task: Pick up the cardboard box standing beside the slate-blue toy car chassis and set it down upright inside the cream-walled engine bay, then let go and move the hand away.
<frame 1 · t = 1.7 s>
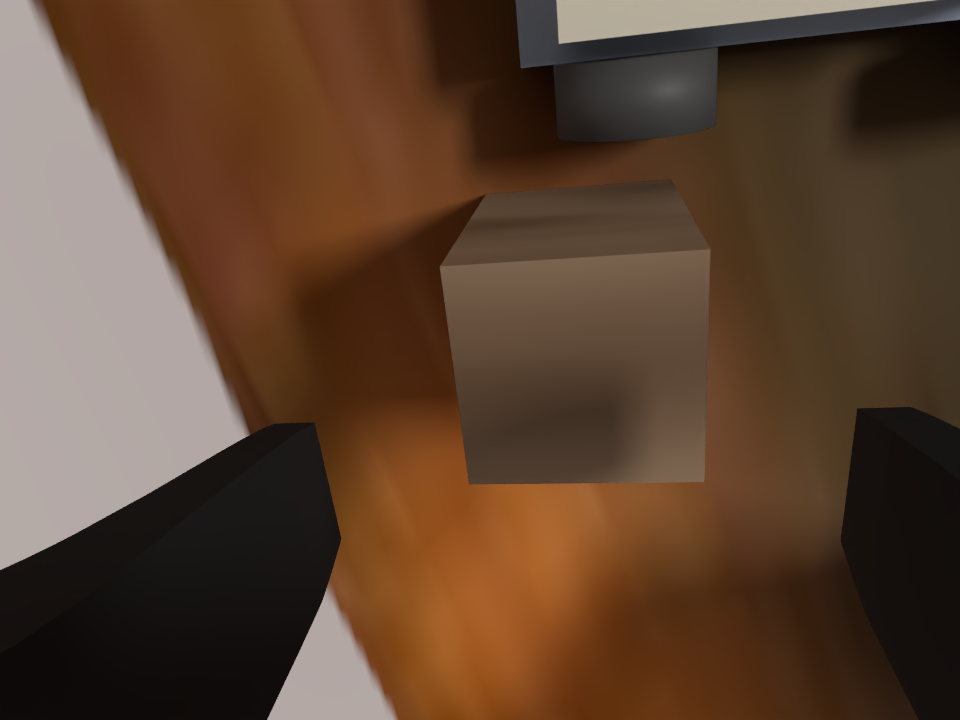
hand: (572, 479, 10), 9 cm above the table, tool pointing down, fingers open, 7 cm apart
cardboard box: (580, 274, 18), on the table
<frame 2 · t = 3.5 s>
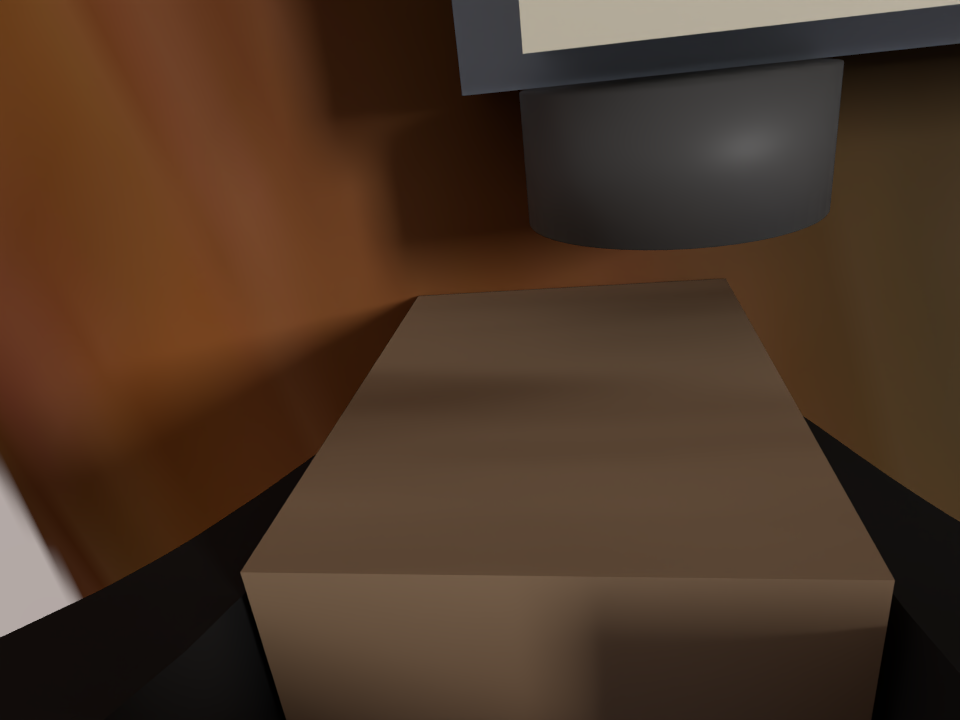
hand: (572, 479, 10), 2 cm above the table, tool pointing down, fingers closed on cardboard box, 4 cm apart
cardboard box: (574, 420, 11), on the table, touching gripper
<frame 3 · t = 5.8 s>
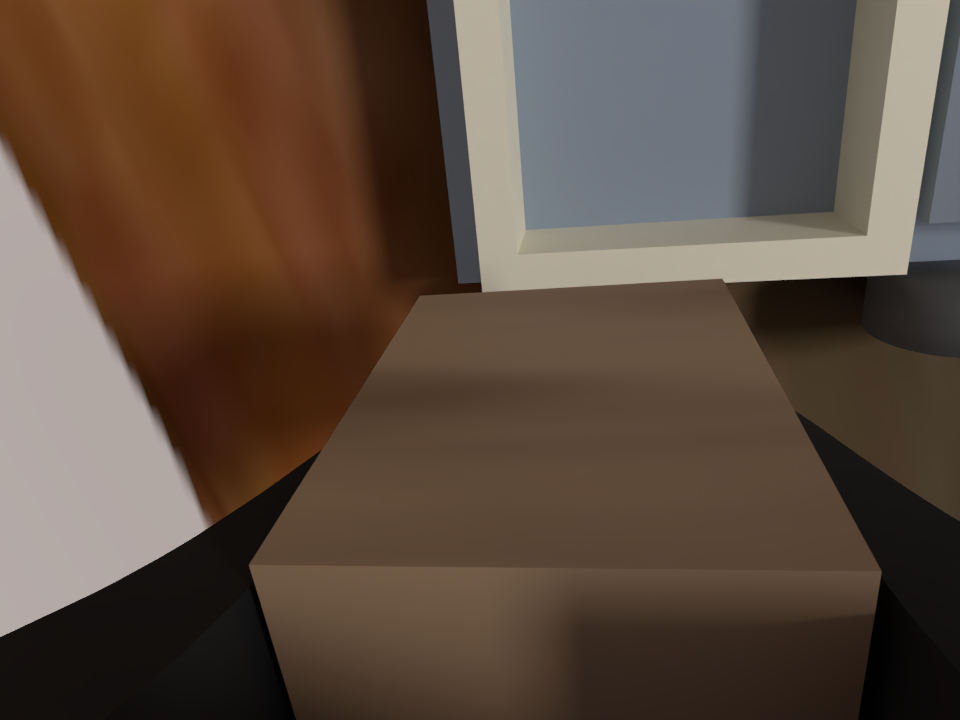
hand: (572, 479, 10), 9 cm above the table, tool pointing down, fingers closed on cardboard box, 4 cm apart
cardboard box: (573, 418, 11), point 7 cm above the table, touching gripper
chassis: (743, 50, 15), on the table
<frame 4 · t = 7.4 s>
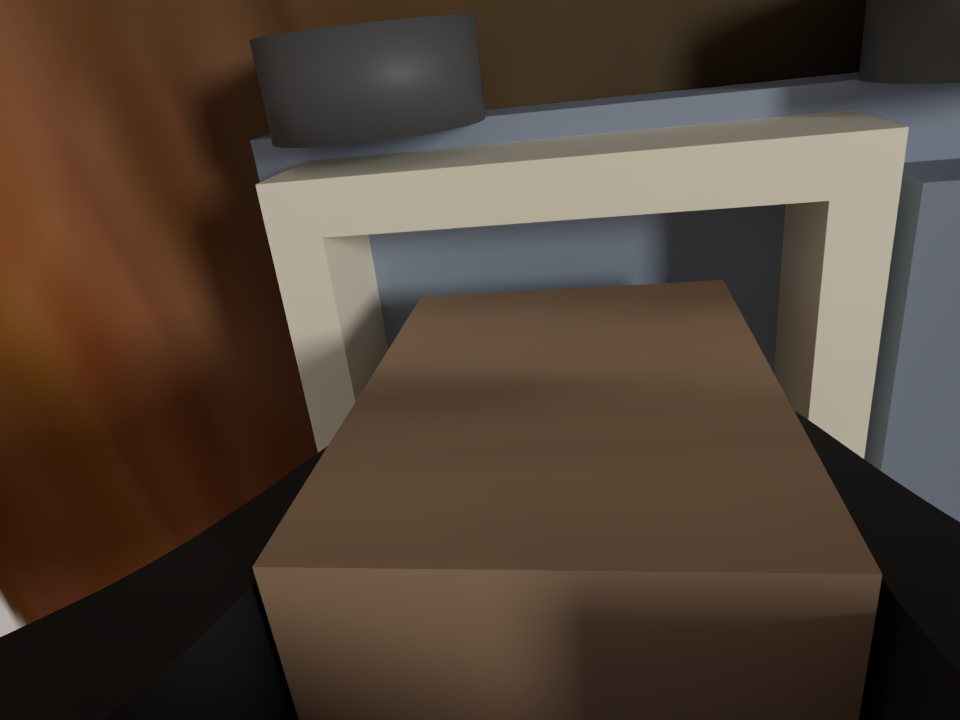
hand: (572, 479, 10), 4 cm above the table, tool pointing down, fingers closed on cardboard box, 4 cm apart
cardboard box: (574, 419, 11), point 3 cm above the table, touching gripper
chassis: (657, 347, 13), on the table
when the fingers open (4 cm above the table, at t = 8.4 s): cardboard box drops 1 cm, resting on chassis.
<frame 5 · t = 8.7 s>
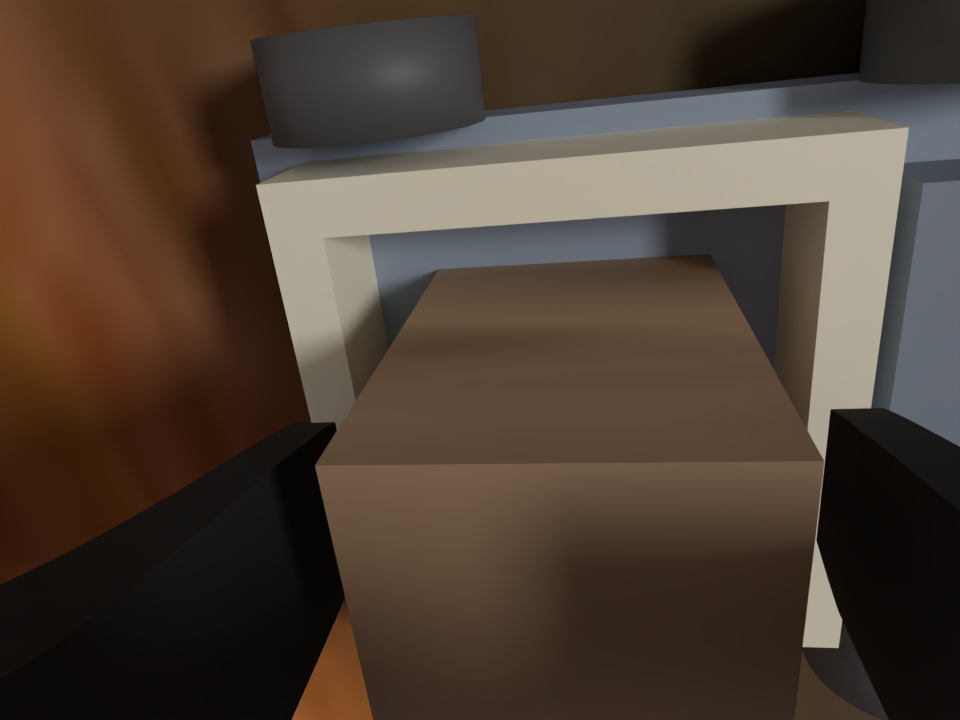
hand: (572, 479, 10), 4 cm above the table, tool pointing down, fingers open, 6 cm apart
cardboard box: (575, 382, 12), point 1 cm above the table, touching chassis
chassis: (657, 347, 13), on the table
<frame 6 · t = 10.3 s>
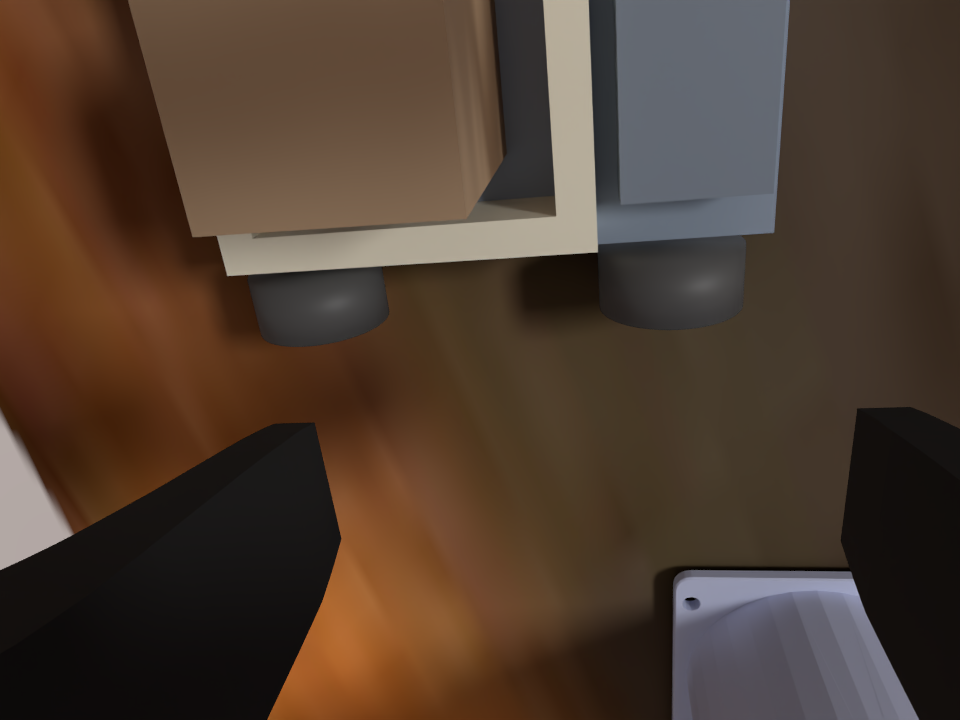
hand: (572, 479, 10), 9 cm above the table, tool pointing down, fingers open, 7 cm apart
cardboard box: (397, 57, 15), point 1 cm above the table, touching chassis
chassis: (473, 45, 16), on the table
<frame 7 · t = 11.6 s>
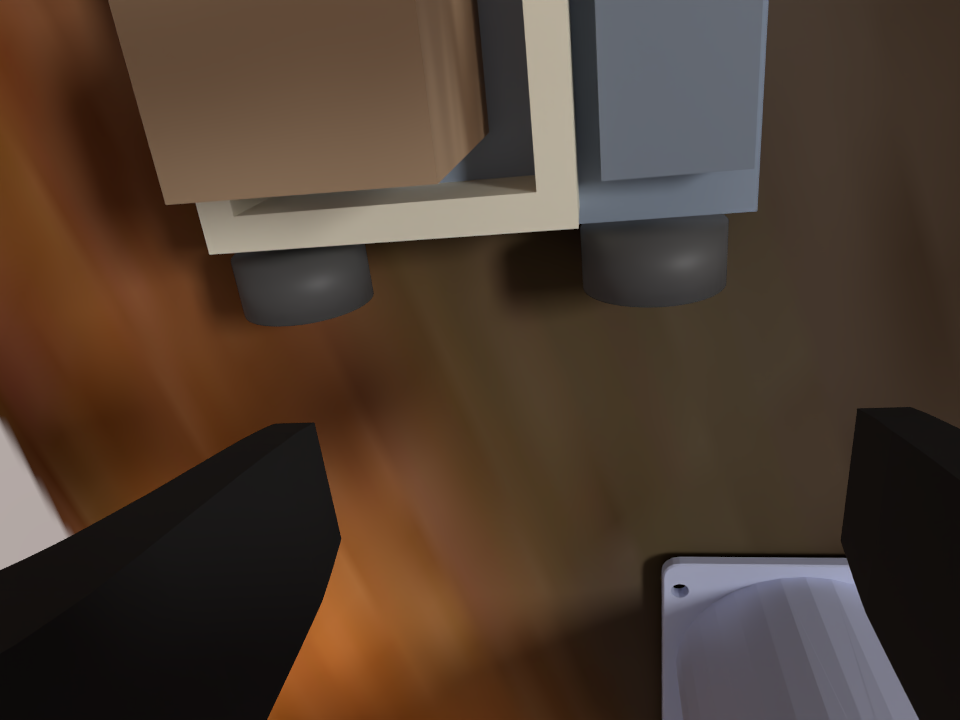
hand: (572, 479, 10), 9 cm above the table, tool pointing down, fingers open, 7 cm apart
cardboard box: (379, 35, 15), point 1 cm above the table, touching chassis
chassis: (456, 24, 16), on the table
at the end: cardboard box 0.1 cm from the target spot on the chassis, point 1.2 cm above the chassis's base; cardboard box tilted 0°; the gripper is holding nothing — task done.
